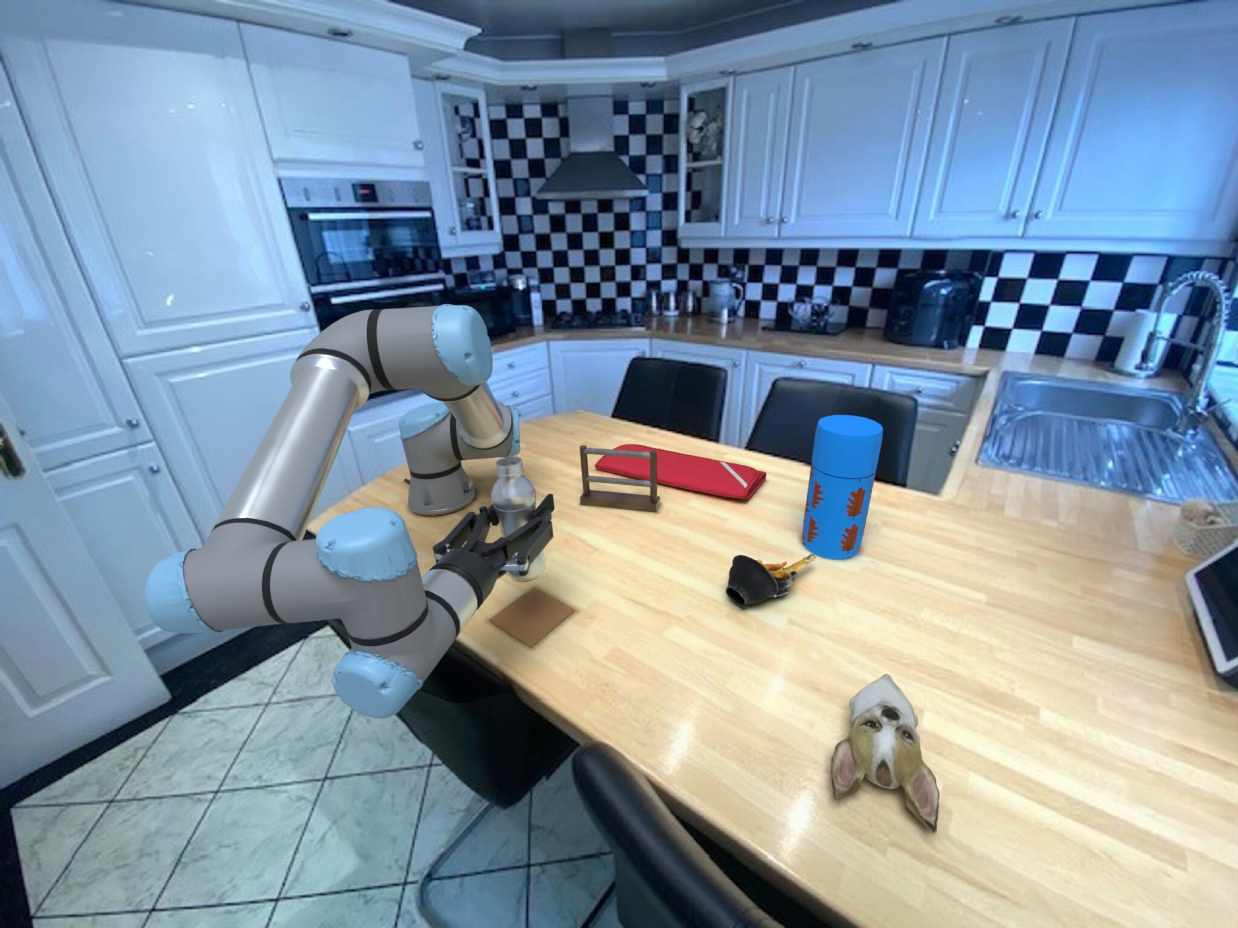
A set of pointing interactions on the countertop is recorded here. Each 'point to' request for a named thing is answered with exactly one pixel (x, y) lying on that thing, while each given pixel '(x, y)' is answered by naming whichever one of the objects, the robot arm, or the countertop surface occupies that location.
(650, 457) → the rail rack
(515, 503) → the silver water bottle
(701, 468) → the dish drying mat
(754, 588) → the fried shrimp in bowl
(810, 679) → the countertop surface
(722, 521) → the countertop surface
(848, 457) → the thermos
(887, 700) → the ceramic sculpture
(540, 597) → the coaster
